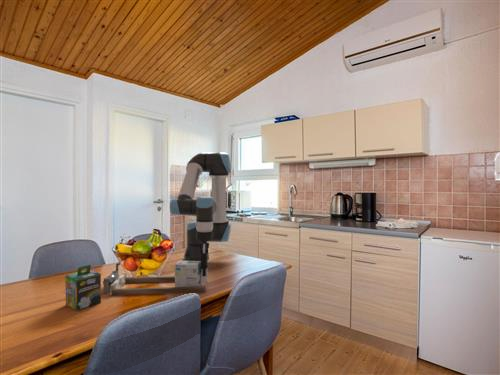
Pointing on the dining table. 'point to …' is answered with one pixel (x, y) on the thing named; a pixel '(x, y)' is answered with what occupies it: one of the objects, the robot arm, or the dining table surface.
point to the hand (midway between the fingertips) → (204, 282)
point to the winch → (111, 279)
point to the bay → (123, 279)
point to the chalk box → (83, 288)
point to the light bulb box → (187, 273)
